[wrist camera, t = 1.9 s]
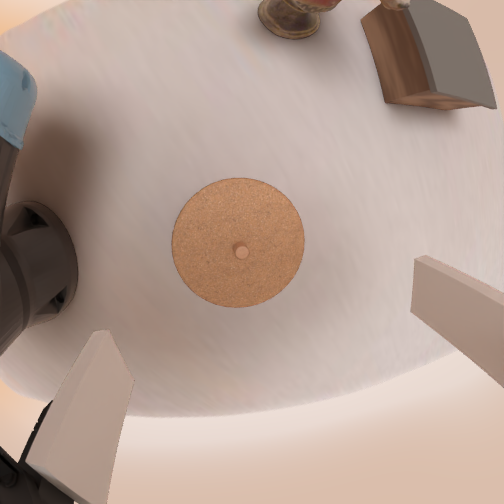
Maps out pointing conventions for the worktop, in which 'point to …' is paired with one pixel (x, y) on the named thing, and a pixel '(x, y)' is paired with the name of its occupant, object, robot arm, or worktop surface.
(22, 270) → the robot arm
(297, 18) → the decorative bust
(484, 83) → the block
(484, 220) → the worktop surface
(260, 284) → the lidded jar
